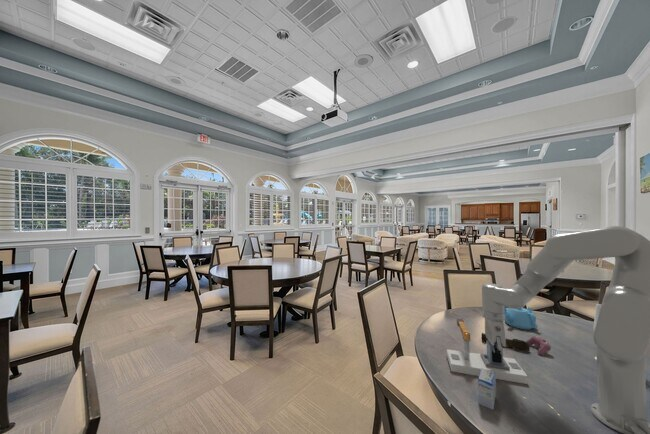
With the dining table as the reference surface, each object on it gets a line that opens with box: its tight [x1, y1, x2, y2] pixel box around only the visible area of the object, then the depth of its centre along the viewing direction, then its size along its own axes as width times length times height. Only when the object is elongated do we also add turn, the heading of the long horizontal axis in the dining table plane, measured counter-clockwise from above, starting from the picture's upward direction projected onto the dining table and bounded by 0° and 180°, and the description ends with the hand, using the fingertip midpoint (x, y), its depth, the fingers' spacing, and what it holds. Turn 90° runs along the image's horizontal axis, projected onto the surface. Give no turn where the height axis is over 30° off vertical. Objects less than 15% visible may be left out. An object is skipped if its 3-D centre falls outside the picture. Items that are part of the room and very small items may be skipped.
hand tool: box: [481, 332, 531, 352], centre depth 119 cm, size 19×4×5 cm, turn 51°
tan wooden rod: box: [456, 318, 471, 342], centre depth 110 cm, size 3×17×3 cm, turn 160°
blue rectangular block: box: [485, 340, 504, 365], centre depth 100 cm, size 4×4×8 cm
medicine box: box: [477, 368, 497, 411], centre depth 84 cm, size 8×4×9 cm, turn 141°
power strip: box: [446, 339, 529, 385], centre depth 102 cm, size 12×26×11 cm, turn 71°
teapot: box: [504, 306, 538, 330], centre depth 143 cm, size 15×17×11 cm
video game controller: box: [525, 335, 552, 356], centre depth 115 cm, size 10×5×7 cm, turn 171°
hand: (494, 358), depth 100 cm, fingers closed on blue rectangular block, 4 cm apart
